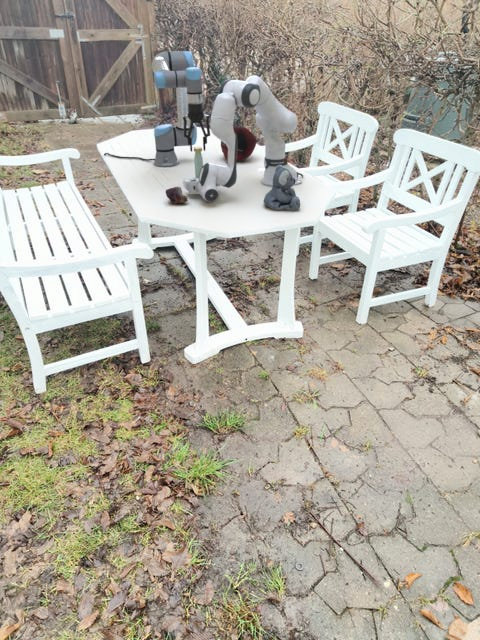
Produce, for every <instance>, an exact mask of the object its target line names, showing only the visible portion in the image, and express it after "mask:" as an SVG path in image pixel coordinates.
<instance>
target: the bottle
mask: <svg viewBox="0 0 480 640" xmlns="http://www.w3.org/2000/svg"><path fill="white" fill-rule="evenodd" d="M193 162H194V163H193V164H194V176H195V178H199V173H200V170H201V168H202V167H203V166H204V160H203V155H202V151H201V152H195V151H194V159H193Z"/></svg>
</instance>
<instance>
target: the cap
mask: <svg viewBox="0 0 480 640" xmlns="http://www.w3.org/2000/svg"><path fill="white" fill-rule="evenodd" d="M202 147H203V146H194V147H193V152H194V153H195V152H201V153H202V152H203V148H202Z"/></svg>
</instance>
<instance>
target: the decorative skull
mask: <svg viewBox="0 0 480 640" xmlns="http://www.w3.org/2000/svg"><path fill="white" fill-rule="evenodd" d="M233 130H234V133H235V134H236V135H237V162H241V161H244V160H246V159H249V157H251V156H252V154H253V153H254V150H255V148H256V146H257V137H256V136H255V135H254V133H253V132H252V131H251V130H250V129H248V128H247V127H244V126H241V125H240V126H239V125H237V126H233ZM220 149H221V152H222V154H223V156H224V158H225V159H226V164H228V147H227V145H226V144H225V143H224V142H223V141H221V140H220Z"/></svg>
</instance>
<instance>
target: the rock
mask: <svg viewBox="0 0 480 640" xmlns="http://www.w3.org/2000/svg"><path fill="white" fill-rule="evenodd" d="M165 196H166V197H167V199H169V202H171V203H172V204H185V203H187V202H188V197H187V196H186V195H184V194H183V190H182V187H180V186H174V187H169V188H168V189H166V190H165Z"/></svg>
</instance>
